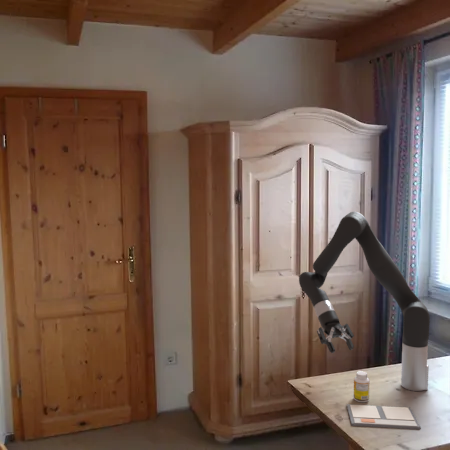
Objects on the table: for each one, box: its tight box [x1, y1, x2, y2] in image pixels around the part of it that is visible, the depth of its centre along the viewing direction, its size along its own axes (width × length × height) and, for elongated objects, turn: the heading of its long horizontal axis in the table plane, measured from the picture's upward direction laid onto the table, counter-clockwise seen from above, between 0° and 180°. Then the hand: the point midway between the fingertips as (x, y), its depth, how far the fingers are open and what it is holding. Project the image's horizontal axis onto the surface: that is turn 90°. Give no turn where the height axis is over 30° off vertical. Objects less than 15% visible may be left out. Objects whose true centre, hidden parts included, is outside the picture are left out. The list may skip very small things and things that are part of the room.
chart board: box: [346, 403, 422, 430], centre depth 172 cm, size 22×14×1 cm, turn 83°
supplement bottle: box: [353, 370, 370, 403], centre depth 185 cm, size 6×6×10 cm
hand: (342, 350), depth 195 cm, fingers open, 8 cm apart
